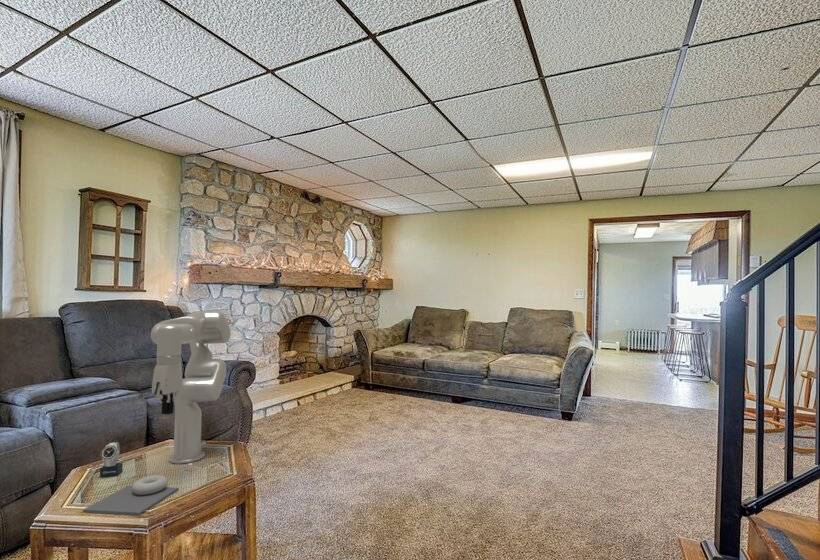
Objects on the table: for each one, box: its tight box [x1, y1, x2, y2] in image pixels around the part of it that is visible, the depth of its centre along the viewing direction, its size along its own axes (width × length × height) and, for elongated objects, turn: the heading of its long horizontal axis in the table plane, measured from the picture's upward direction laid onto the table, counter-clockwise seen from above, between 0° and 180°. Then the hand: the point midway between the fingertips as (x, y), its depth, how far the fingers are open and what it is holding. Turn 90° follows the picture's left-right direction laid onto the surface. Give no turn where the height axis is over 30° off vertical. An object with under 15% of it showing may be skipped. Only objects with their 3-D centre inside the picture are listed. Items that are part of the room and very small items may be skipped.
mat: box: [82, 485, 179, 516], centre depth 130 cm, size 17×18×1 cm
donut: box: [131, 474, 169, 495], centre depth 136 cm, size 10×4×10 cm
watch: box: [99, 441, 124, 478], centre depth 152 cm, size 6×8×11 cm
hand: (167, 413), depth 146 cm, fingers closed
